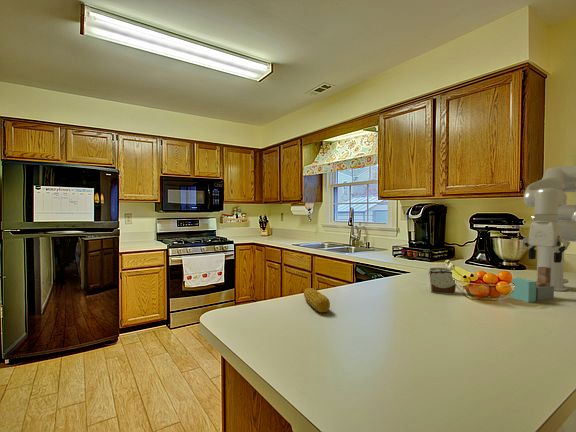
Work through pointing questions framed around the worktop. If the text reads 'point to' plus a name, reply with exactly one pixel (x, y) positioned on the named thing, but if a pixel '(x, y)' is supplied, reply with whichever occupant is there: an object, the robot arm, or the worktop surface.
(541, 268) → the rod
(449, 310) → the worktop surface
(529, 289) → the teal rectangular block
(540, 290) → the guide channel
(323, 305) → the food
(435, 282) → the food container
